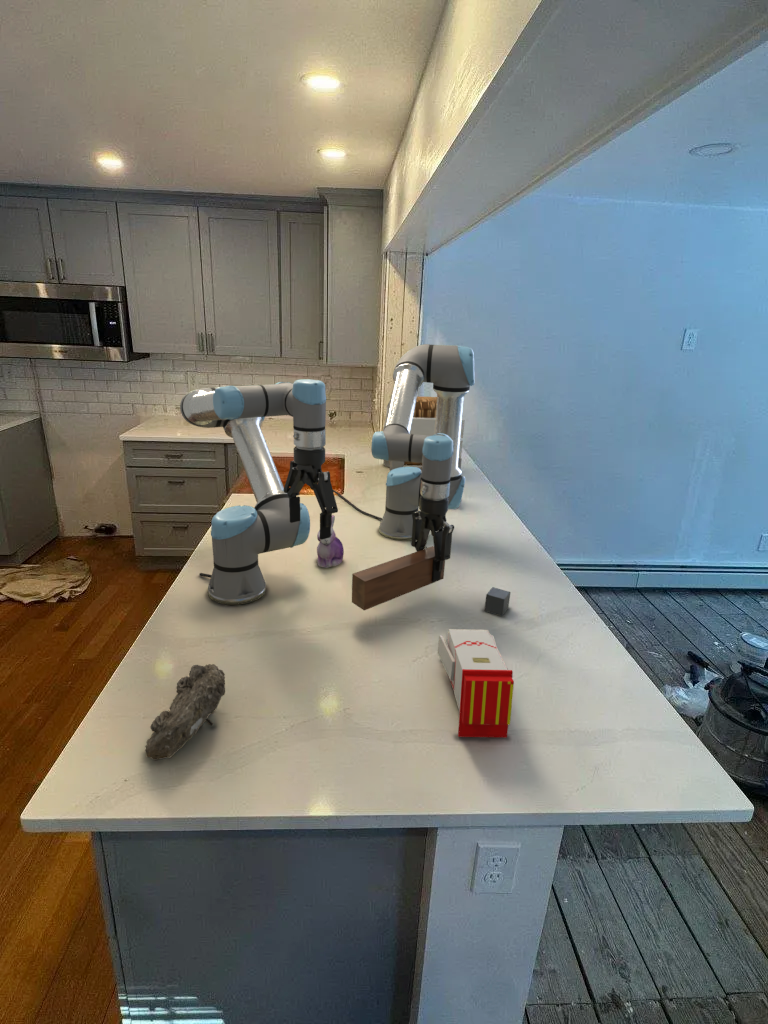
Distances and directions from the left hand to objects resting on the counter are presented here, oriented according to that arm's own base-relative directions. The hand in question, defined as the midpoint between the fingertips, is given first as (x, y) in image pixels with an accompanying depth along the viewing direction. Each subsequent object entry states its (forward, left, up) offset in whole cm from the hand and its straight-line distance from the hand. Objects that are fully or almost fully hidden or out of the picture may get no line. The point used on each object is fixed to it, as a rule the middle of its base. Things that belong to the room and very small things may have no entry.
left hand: (309, 529), depth 142 cm
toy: (+44, -24, -22) cm, 55 cm away
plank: (+23, +6, -16) cm, 29 cm away
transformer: (+5, +138, -22) cm, 140 cm away
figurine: (-4, +27, -22) cm, 35 cm away
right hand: (+29, +15, -15) cm, 36 cm away
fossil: (-5, -48, -22) cm, 53 cm away
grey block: (+48, +13, -22) cm, 54 cm away
